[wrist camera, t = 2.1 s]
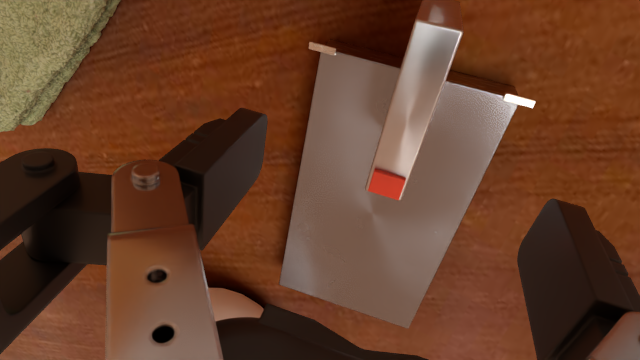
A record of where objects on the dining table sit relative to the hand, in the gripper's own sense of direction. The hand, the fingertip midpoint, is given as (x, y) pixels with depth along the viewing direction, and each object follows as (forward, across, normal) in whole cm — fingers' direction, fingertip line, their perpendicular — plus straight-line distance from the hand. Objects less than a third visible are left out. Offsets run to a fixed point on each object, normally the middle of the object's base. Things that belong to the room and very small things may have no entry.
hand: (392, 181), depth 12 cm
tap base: (+12, 0, +6) cm, 14 cm away
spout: (+10, 0, 0) cm, 10 cm away
